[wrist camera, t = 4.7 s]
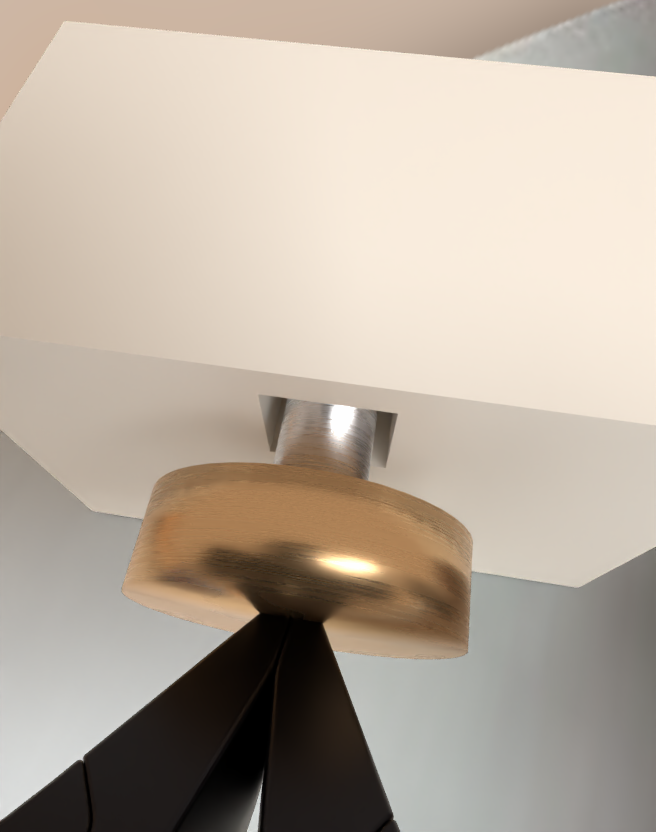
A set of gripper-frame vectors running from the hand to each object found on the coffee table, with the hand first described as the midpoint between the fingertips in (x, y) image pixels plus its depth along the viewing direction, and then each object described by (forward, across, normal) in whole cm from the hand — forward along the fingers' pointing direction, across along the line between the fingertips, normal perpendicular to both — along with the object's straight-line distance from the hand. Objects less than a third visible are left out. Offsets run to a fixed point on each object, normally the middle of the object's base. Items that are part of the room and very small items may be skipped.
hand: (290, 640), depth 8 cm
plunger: (+6, 0, -2) cm, 6 cm away
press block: (+11, 0, 0) cm, 11 cm away
